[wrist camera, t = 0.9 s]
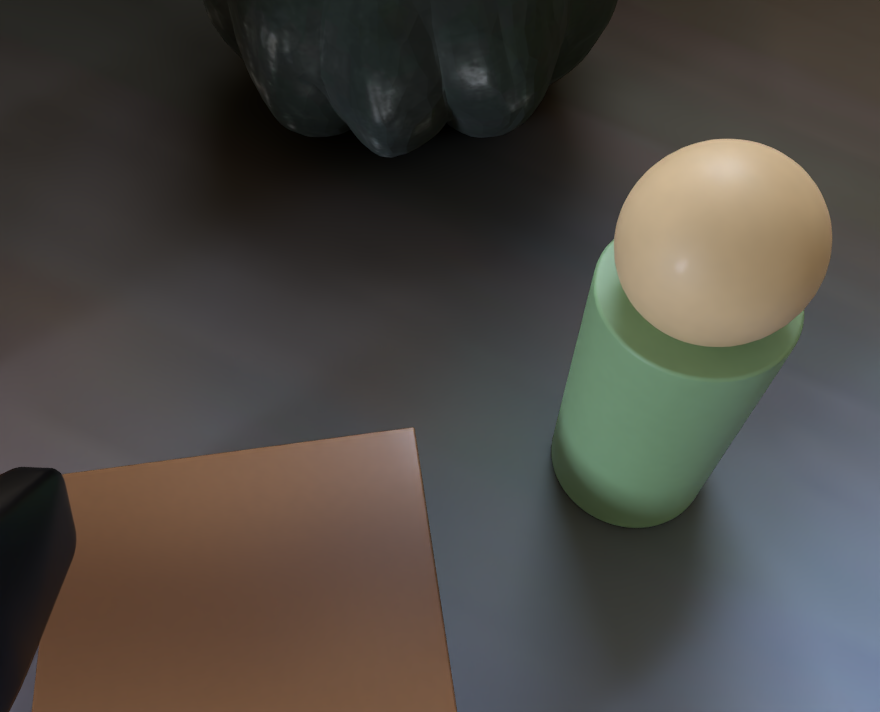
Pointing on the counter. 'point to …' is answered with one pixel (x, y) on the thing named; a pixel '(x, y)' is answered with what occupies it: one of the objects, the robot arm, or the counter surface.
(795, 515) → the counter surface
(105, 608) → the walnut block
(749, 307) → the peg doll
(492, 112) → the squash
